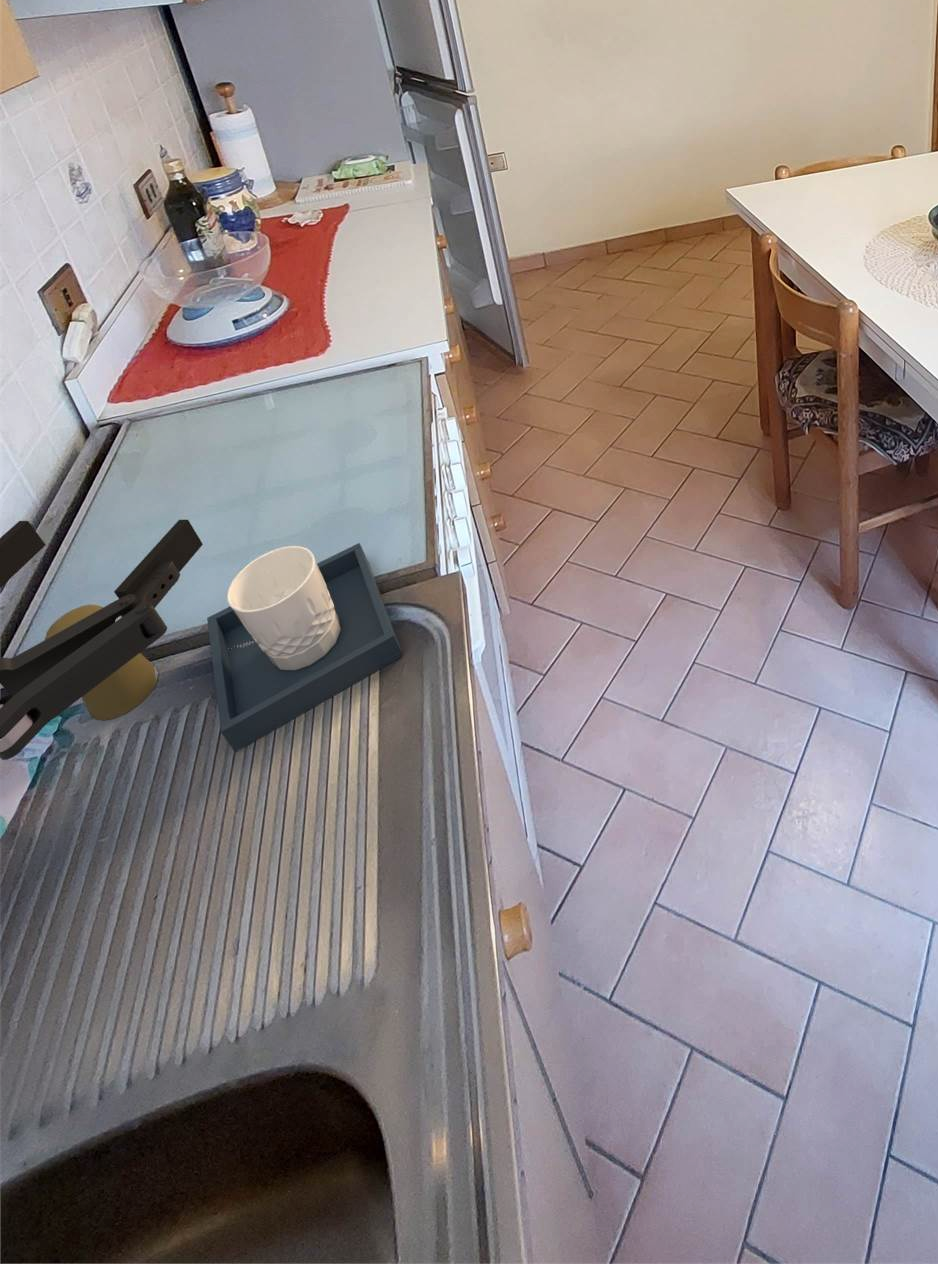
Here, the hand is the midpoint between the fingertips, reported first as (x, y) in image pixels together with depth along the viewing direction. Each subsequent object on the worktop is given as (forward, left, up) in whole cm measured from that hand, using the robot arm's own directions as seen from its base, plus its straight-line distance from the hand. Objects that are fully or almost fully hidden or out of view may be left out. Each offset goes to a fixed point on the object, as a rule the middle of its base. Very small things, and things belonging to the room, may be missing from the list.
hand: (111, 532), depth 62 cm
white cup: (-7, +6, -27) cm, 29 cm away
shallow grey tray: (-7, +6, -28) cm, 30 cm away
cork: (-14, -10, -28) cm, 33 cm away
